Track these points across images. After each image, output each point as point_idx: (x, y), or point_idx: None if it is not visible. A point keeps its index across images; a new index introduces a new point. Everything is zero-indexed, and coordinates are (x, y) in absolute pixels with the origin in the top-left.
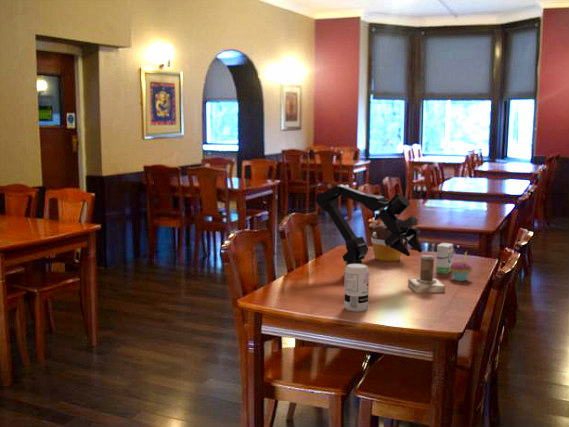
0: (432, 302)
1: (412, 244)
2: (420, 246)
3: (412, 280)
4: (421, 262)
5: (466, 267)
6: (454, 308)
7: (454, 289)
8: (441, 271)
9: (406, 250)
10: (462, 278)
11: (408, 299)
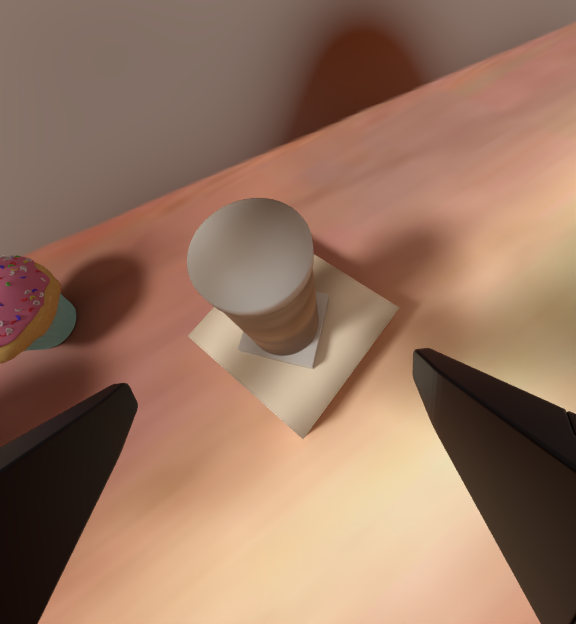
0: (454, 193)
1: (12, 604)
2: (49, 420)
3: (316, 396)
4: (306, 299)
5: (12, 259)
6: (443, 119)
7: None
8: None
9: (493, 383)
10: (66, 299)
11: (517, 271)
